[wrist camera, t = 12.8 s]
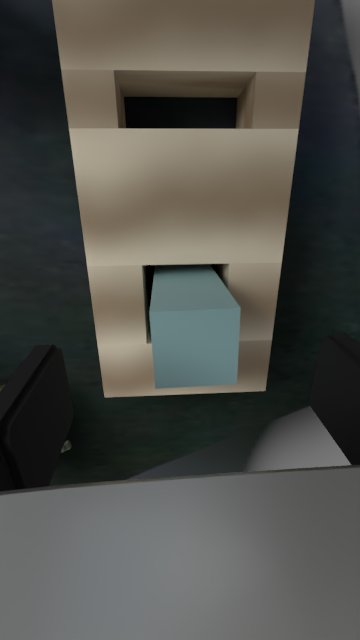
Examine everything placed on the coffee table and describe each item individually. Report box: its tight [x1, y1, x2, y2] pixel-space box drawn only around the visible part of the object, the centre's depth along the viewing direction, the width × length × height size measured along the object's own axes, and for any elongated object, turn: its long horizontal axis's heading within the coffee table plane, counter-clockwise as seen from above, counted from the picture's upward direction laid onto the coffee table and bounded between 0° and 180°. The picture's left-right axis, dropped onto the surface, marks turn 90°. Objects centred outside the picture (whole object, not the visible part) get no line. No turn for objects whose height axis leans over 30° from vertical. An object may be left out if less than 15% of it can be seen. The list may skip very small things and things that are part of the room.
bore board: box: [52, 0, 315, 397], centre depth 19 cm, size 24×12×4 cm, turn 1°
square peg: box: [149, 264, 241, 389], centre depth 18 cm, size 4×4×10 cm
